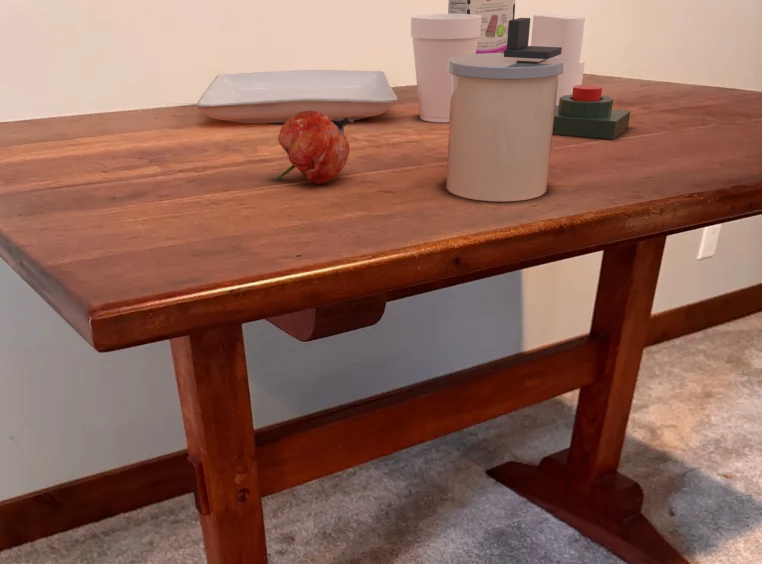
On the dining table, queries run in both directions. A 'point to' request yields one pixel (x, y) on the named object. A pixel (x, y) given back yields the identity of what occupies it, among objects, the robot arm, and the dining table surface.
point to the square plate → (296, 95)
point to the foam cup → (440, 57)
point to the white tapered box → (562, 46)
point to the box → (589, 118)
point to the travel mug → (501, 125)
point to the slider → (525, 42)
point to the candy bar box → (488, 21)
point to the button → (587, 92)
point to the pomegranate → (315, 145)
